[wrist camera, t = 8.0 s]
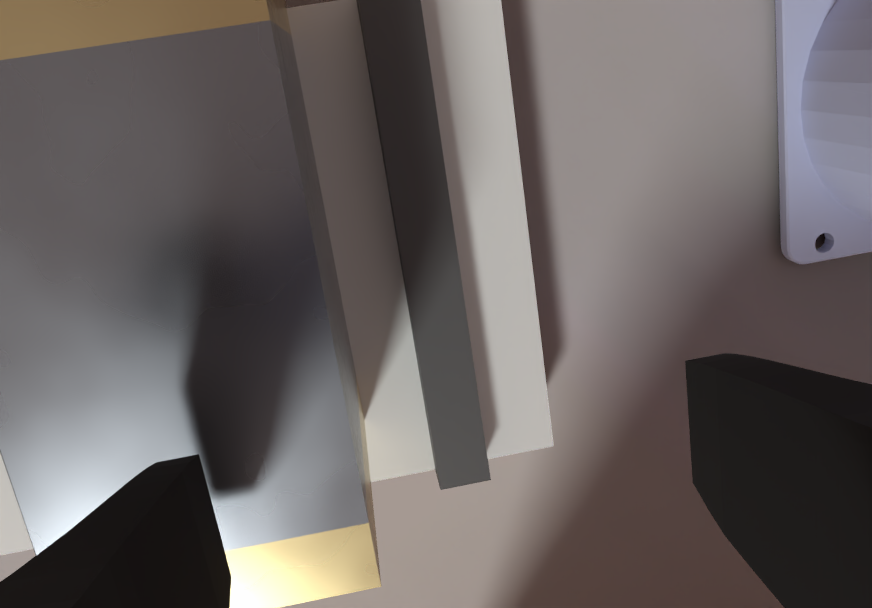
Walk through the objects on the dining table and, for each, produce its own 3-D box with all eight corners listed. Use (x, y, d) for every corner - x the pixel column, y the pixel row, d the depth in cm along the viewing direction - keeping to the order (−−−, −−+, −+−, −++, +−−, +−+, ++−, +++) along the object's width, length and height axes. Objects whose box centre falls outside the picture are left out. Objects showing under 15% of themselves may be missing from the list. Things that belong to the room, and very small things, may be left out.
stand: (481, -16, 19) (508, -30, 16) (534, 413, 22) (564, 465, 19) (-145, 79, 18) (-235, 82, 15) (8, 514, 21) (-41, 585, 18)
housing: (364, 419, 19) (380, 586, 13) (153, 459, 19) (68, 650, 13) (279, -27, 16) (250, -79, 10) (26, 9, 16) (-162, -23, 10)
